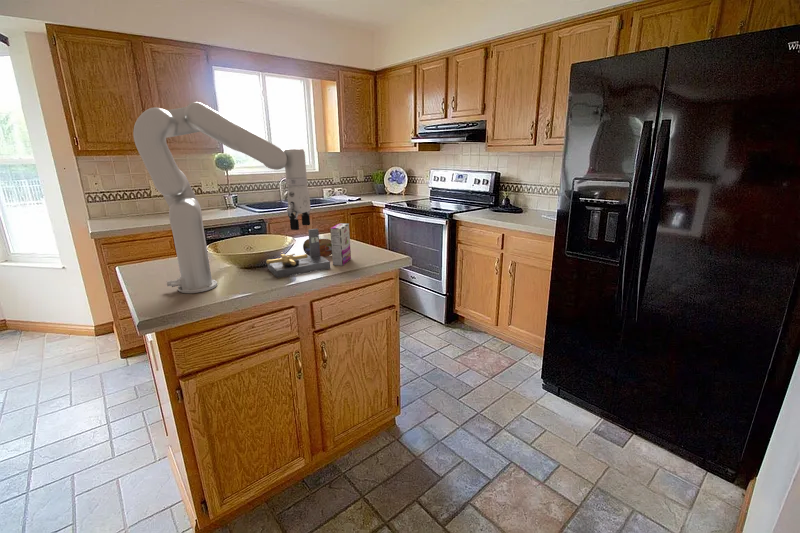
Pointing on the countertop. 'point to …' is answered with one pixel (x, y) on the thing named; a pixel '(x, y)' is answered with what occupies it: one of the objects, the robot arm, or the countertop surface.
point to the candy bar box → (340, 244)
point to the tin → (324, 247)
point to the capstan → (288, 259)
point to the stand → (303, 260)
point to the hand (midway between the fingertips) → (300, 227)
